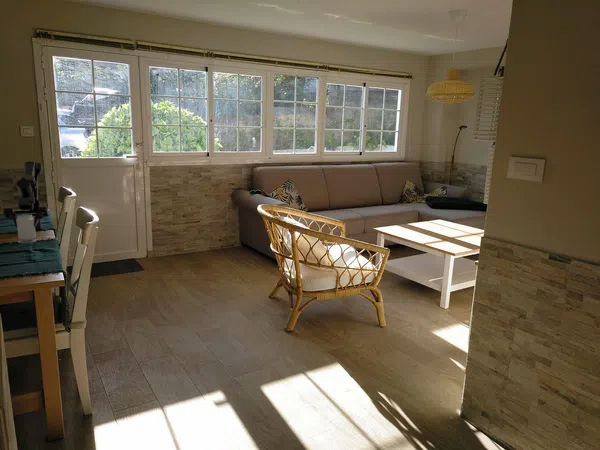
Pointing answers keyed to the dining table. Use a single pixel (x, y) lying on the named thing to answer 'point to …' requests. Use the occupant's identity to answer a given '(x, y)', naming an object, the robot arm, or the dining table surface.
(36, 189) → the robot arm
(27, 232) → the can
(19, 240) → the coaster
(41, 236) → the dining table surface
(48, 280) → the dining table surface
